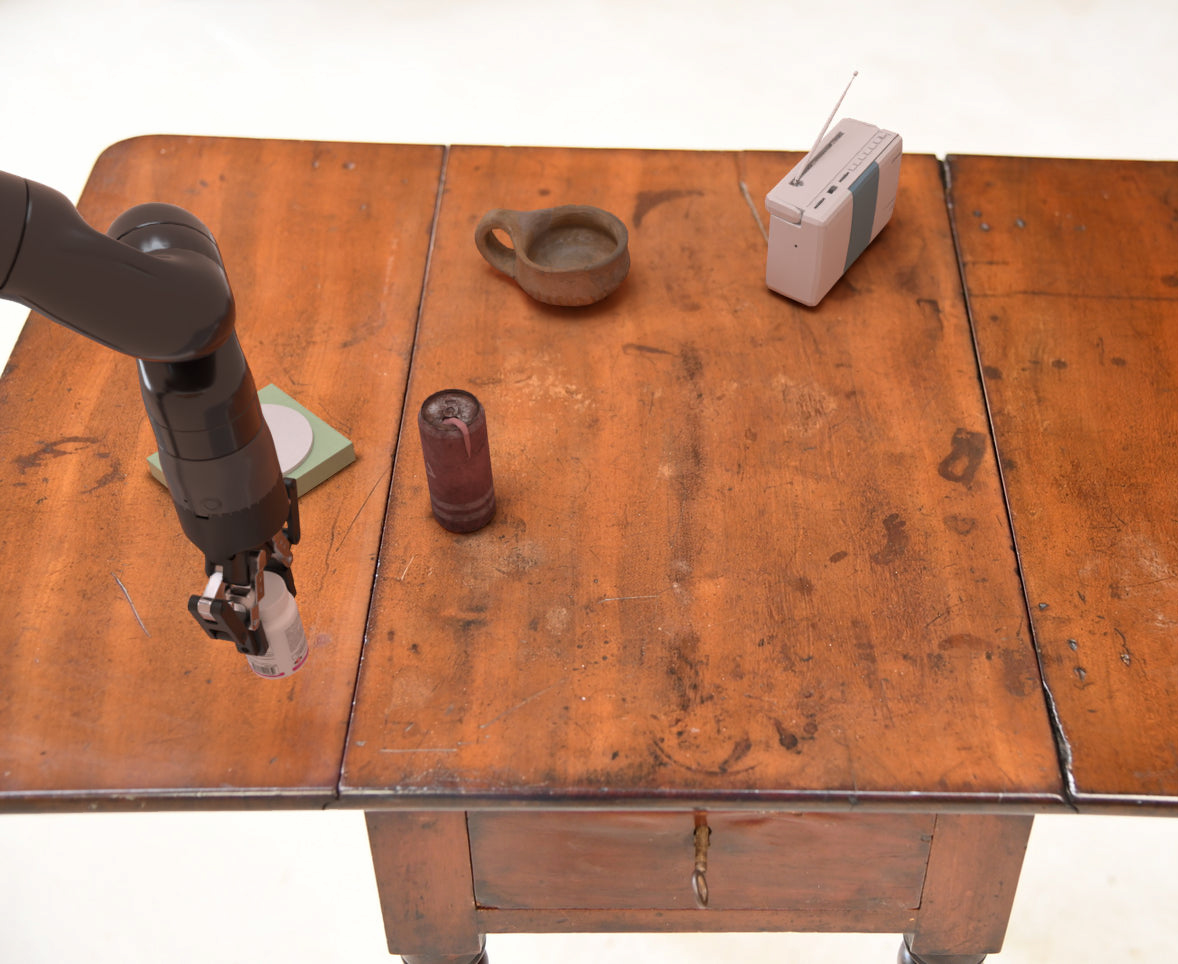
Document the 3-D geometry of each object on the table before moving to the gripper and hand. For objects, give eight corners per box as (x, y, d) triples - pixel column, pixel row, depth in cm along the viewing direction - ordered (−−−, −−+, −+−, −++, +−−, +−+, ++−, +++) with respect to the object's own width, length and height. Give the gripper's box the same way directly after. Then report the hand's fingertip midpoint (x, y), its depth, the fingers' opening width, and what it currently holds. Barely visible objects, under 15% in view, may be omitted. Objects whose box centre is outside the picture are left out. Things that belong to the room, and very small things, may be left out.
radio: (816, 317, 160) (833, 168, 145) (754, 292, 162) (764, 144, 148) (894, 226, 172) (916, 81, 158) (835, 205, 175) (851, 60, 161)
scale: (232, 542, 133) (224, 519, 131) (152, 475, 138) (143, 453, 136) (356, 459, 141) (351, 437, 139) (276, 400, 147) (270, 377, 144)
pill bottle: (294, 624, 115) (275, 557, 109) (319, 663, 112) (301, 596, 106) (238, 650, 112) (216, 583, 106) (263, 690, 110) (241, 624, 104)
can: (458, 546, 134) (443, 442, 124) (421, 509, 137) (403, 404, 127) (510, 516, 137) (499, 412, 127) (472, 480, 140) (458, 376, 130)
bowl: (464, 318, 155) (459, 232, 150) (485, 272, 167) (481, 191, 162) (625, 325, 155) (625, 239, 150) (634, 278, 167) (634, 197, 162)
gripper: (217, 395, 102) (261, 549, 114) (123, 537, 92) (182, 688, 105) (314, 411, 102) (348, 564, 114) (230, 556, 92) (277, 706, 104)
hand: (268, 623), depth 109 cm, fingers closed on pill bottle, 4 cm apart
